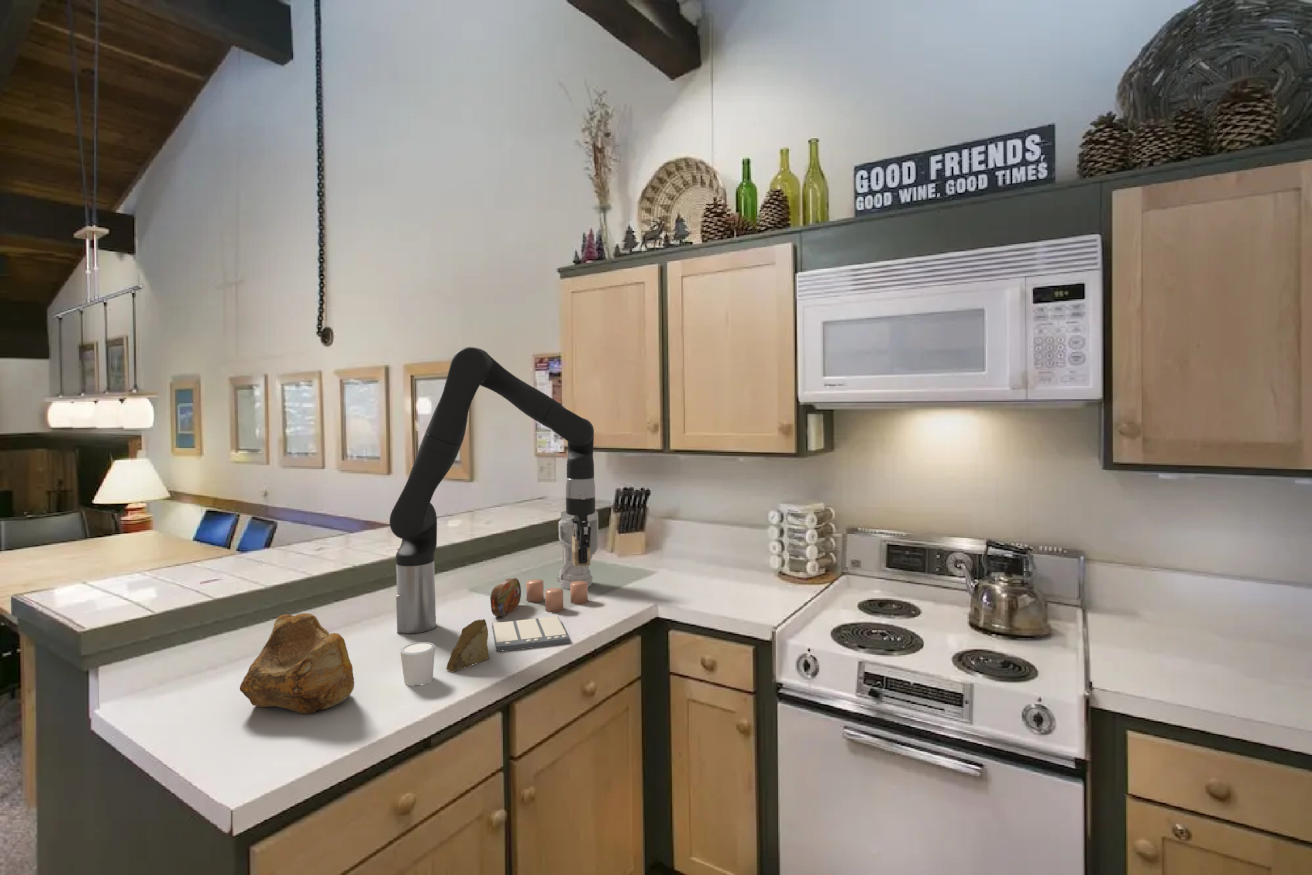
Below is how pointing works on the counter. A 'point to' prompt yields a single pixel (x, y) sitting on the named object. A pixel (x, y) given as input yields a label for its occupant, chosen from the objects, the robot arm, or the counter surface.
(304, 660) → the brown rough lump
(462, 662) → the rock
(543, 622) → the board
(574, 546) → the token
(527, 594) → the peach rounded cylinder
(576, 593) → the cylinder
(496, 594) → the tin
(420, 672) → the white cup
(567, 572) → the lantern
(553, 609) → the peach dome knob
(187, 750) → the counter surface
